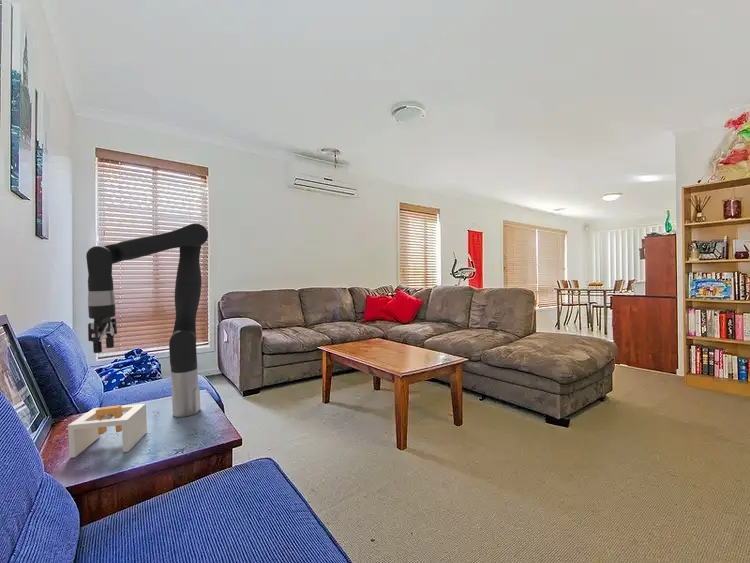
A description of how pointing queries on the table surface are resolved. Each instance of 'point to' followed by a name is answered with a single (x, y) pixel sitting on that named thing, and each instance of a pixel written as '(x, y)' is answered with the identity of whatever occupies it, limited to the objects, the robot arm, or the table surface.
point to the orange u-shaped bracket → (109, 411)
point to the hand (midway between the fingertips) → (104, 350)
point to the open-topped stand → (87, 426)
